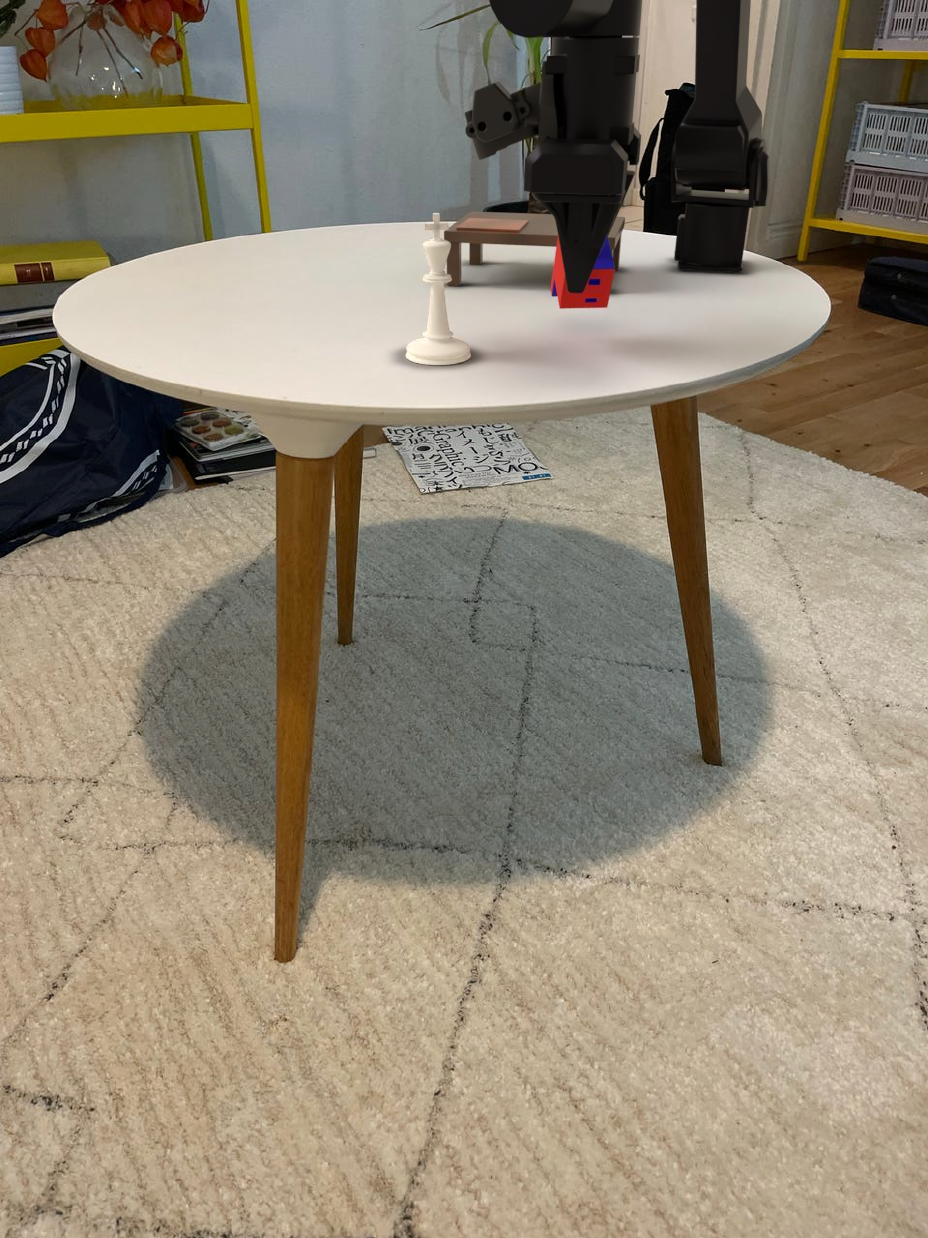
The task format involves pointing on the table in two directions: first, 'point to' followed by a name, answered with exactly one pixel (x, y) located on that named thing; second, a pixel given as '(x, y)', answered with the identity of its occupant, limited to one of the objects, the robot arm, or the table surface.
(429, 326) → the chess piece
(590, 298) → the toy building block
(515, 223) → the miniature wooden table
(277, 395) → the table surface
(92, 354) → the table surface
